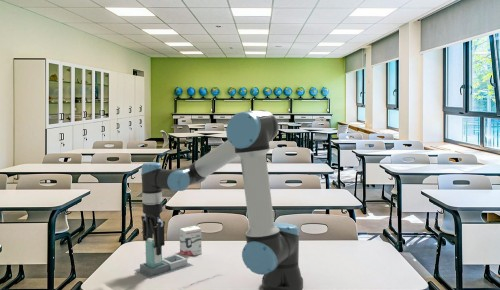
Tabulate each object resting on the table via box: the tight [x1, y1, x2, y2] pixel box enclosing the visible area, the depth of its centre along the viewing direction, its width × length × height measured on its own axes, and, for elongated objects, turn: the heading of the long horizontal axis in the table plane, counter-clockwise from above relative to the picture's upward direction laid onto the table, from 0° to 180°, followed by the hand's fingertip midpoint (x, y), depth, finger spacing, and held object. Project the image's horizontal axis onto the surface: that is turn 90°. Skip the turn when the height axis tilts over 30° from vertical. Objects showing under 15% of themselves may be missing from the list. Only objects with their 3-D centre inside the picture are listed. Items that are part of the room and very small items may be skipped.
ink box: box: [178, 225, 203, 257], centre depth 203 cm, size 8×5×12 cm, turn 123°
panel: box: [134, 253, 194, 280], centre depth 185 cm, size 12×20×4 cm, turn 134°
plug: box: [145, 238, 163, 268], centre depth 181 cm, size 4×4×13 cm
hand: (154, 260), depth 182 cm, fingers closed on plug, 4 cm apart
